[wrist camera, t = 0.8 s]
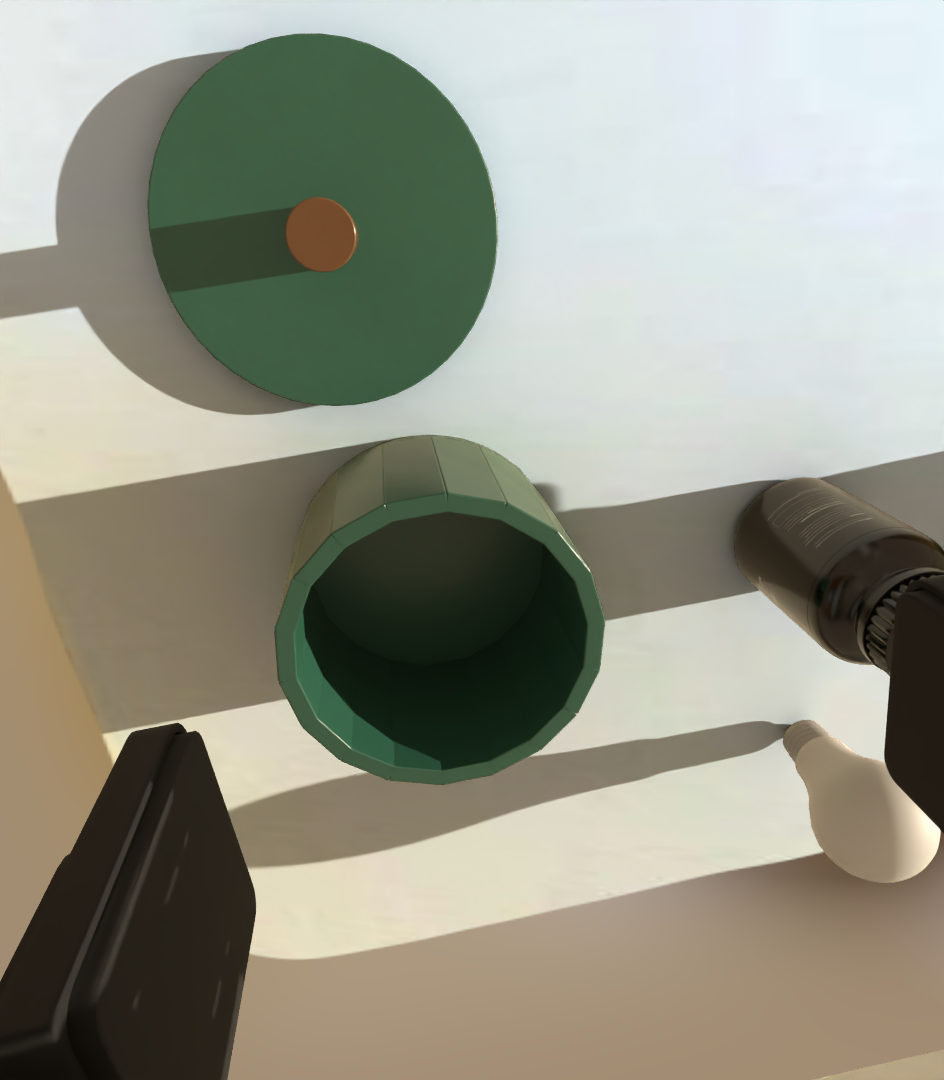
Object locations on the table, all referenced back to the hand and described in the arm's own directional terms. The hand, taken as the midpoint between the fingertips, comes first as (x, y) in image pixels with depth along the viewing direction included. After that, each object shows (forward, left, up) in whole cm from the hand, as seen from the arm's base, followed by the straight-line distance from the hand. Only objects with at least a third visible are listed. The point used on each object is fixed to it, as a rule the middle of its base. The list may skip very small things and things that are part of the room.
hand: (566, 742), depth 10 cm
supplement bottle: (+17, +13, -29) cm, 36 cm away
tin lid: (-8, -1, -28) cm, 29 cm away
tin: (+8, -5, -29) cm, 30 cm away
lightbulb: (+30, +9, -29) cm, 43 cm away
